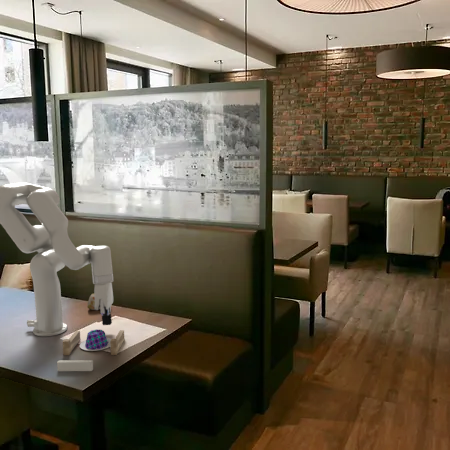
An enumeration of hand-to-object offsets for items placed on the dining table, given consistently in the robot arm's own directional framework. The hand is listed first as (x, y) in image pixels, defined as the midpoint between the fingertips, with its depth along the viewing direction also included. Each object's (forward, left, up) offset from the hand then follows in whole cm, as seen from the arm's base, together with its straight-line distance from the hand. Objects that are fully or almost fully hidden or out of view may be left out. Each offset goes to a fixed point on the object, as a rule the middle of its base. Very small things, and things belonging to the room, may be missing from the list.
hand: (107, 324), depth 186 cm
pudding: (-1, -12, -4) cm, 12 cm away
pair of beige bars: (-1, -13, -3) cm, 13 cm away
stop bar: (-3, -32, -3) cm, 32 cm away
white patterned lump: (-10, +27, -4) cm, 29 cm away
